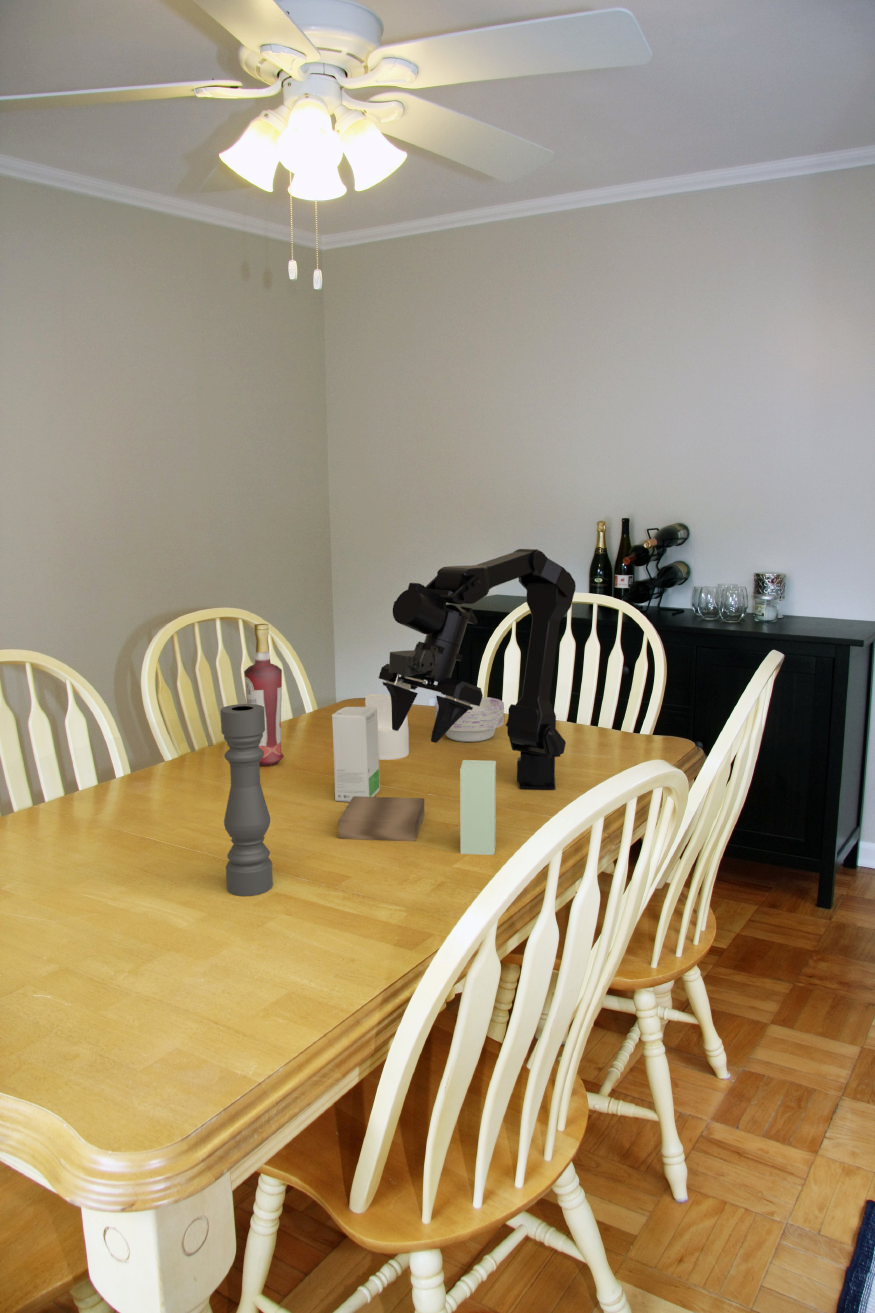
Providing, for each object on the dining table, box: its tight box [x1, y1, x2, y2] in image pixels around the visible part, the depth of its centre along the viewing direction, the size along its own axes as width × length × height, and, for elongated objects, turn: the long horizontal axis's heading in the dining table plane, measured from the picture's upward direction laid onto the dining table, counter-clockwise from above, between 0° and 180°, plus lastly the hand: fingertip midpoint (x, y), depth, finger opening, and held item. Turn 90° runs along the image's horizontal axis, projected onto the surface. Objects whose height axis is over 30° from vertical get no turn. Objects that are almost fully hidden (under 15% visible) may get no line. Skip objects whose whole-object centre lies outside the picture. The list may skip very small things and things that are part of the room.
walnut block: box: [337, 796, 425, 842], centre depth 153 cm, size 12×12×3 cm
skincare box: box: [331, 706, 381, 803], centre depth 168 cm, size 8×7×16 cm
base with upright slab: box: [364, 693, 410, 761], centre depth 196 cm, size 9×9×12 cm
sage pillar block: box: [459, 759, 497, 856], centre depth 143 cm, size 5×5×13 cm
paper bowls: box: [434, 696, 505, 743], centre depth 209 cm, size 15×15×8 cm
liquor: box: [243, 623, 284, 767], centre depth 188 cm, size 7×7×28 cm
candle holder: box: [220, 703, 274, 897], centre depth 128 cm, size 6×6×25 cm
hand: (413, 736), depth 151 cm, fingers open, 9 cm apart
